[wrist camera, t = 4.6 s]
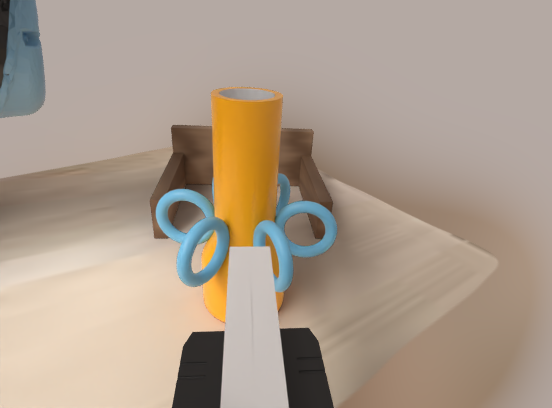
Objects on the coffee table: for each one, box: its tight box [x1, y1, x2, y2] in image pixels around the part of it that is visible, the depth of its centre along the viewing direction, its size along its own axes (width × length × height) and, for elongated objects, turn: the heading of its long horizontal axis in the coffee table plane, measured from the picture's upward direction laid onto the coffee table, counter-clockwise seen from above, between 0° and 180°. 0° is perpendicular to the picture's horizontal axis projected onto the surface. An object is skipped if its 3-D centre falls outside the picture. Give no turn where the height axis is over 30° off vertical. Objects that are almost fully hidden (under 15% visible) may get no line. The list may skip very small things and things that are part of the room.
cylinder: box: [156, 87, 337, 322], centre depth 24 cm, size 12×10×15 cm
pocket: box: [150, 125, 333, 238], centre depth 38 cm, size 16×13×7 cm
